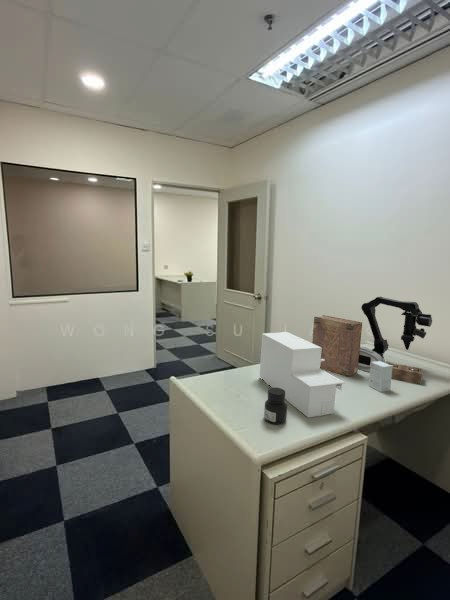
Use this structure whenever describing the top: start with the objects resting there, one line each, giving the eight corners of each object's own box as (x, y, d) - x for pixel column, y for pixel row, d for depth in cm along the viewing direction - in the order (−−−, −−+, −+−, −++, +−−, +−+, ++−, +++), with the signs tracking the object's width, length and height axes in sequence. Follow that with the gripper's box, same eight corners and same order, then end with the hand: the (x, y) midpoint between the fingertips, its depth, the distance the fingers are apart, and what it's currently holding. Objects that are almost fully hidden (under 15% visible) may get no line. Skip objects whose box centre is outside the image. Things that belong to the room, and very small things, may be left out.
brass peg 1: (387, 375, 180) (388, 365, 179) (388, 373, 183) (389, 363, 182) (395, 377, 178) (396, 366, 177) (396, 375, 181) (397, 364, 180)
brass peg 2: (407, 379, 174) (409, 369, 174) (408, 377, 178) (409, 367, 177) (416, 381, 172) (417, 370, 171) (417, 379, 175) (418, 368, 175)
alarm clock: (340, 364, 198) (341, 344, 196) (345, 362, 202) (346, 342, 200) (378, 375, 181) (380, 353, 179) (383, 372, 185) (385, 351, 183)
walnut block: (382, 376, 179) (384, 366, 178) (385, 371, 187) (386, 361, 186) (420, 384, 169) (421, 373, 168) (421, 379, 177) (422, 368, 176)
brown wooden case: (310, 364, 196) (313, 316, 191) (319, 361, 202) (322, 314, 197) (349, 377, 176) (353, 324, 172) (357, 373, 182) (362, 322, 178)
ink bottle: (260, 414, 132) (261, 386, 131) (280, 412, 134) (282, 385, 133) (269, 426, 123) (270, 397, 121) (290, 424, 125) (292, 395, 123)
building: (344, 412, 136) (349, 356, 133) (307, 419, 130) (312, 360, 126) (288, 374, 178) (291, 331, 174) (258, 378, 171) (260, 333, 168)
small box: (390, 390, 160) (393, 365, 158) (380, 392, 158) (383, 367, 156) (377, 384, 167) (380, 360, 166) (368, 385, 165) (370, 361, 163)
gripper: (425, 328, 173) (422, 356, 175) (427, 323, 188) (424, 348, 191) (402, 325, 179) (399, 352, 181) (405, 320, 195) (402, 345, 197)
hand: (407, 349), depth 187 cm, fingers closed
